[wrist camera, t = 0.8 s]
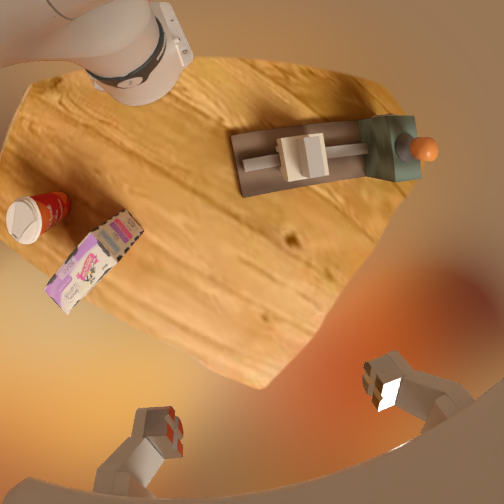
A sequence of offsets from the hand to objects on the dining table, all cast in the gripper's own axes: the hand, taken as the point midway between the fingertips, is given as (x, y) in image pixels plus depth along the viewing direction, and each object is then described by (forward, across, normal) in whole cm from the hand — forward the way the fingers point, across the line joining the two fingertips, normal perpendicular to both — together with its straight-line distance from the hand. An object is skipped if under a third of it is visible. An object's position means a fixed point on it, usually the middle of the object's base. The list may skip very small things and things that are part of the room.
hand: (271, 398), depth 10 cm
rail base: (+42, -18, -7) cm, 47 cm away
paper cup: (+43, +32, -8) cm, 54 cm away
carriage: (+40, -14, -7) cm, 43 cm away
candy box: (+43, +22, +2) cm, 48 cm away
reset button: (+28, -31, -7) cm, 42 cm away
